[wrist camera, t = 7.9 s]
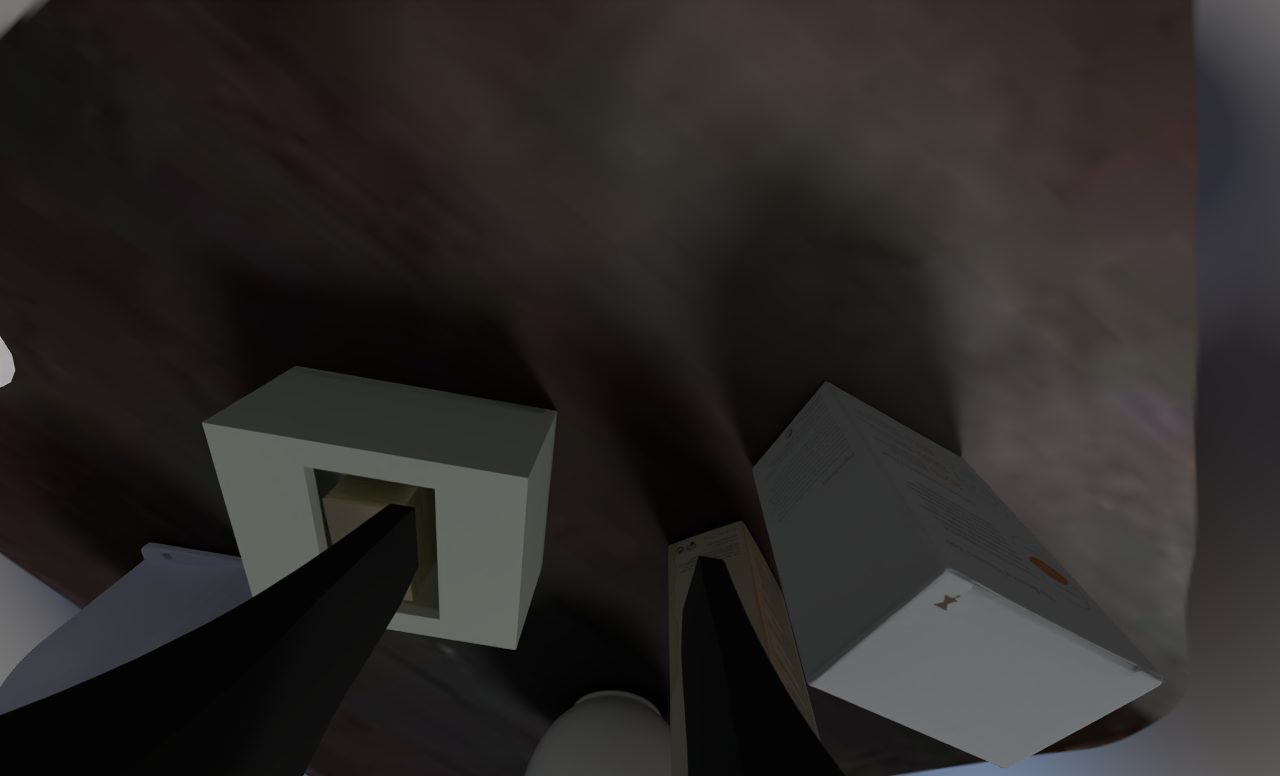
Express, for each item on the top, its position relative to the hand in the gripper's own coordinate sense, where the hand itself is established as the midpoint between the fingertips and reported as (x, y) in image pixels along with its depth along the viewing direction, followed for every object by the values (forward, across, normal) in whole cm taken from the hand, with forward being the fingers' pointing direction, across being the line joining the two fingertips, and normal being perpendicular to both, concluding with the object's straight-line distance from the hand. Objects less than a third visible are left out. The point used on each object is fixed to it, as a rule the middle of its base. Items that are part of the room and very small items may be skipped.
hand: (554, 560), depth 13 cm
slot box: (+10, +8, +7) cm, 15 cm away
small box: (+11, -12, +2) cm, 16 cm away
